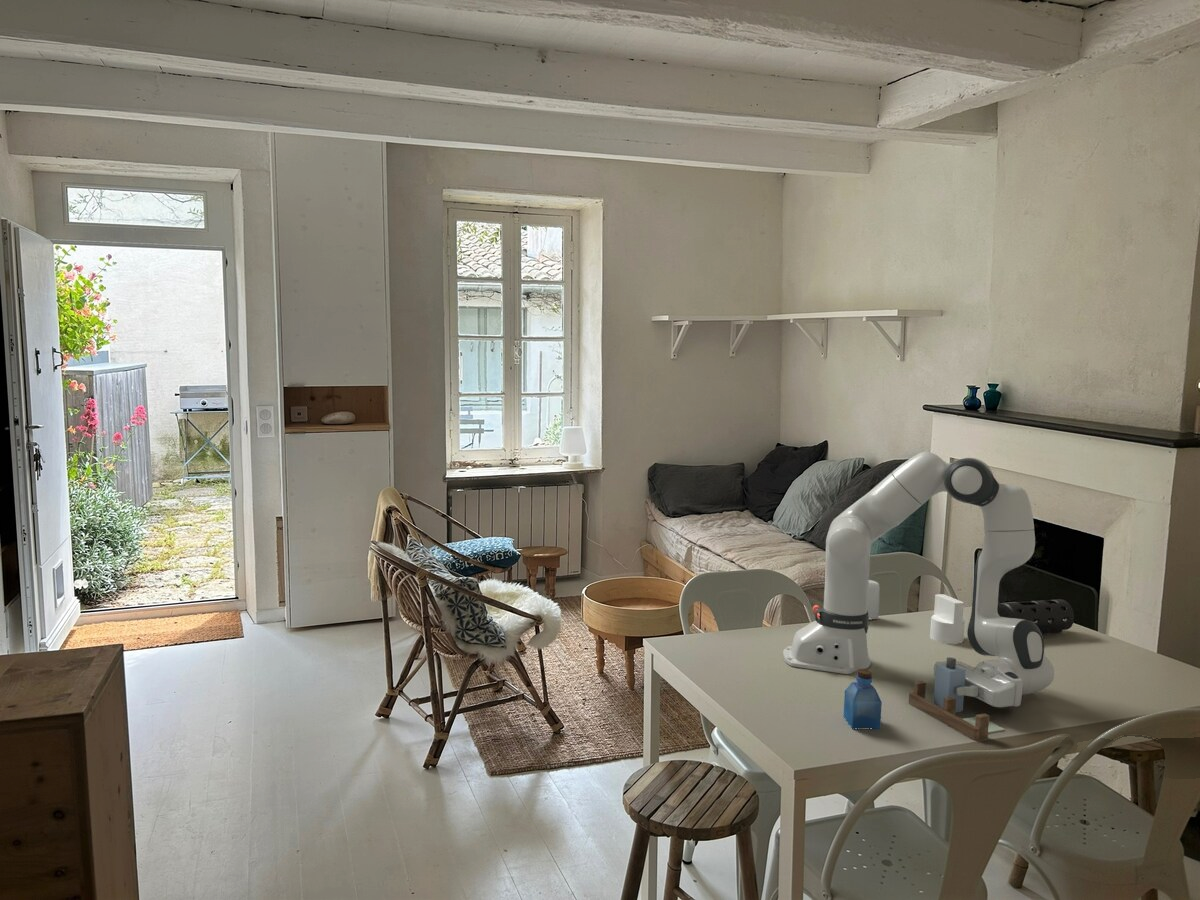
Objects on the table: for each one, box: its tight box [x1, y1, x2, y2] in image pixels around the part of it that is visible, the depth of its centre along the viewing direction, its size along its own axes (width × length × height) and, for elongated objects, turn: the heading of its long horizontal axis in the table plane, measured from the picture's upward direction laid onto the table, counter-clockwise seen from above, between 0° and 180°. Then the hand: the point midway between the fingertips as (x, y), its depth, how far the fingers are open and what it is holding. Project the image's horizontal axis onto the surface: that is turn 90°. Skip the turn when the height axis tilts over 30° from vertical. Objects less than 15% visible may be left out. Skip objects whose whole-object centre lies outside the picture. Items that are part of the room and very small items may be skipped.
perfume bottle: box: [842, 668, 883, 730], centre depth 196 cm, size 6×6×12 cm
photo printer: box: [867, 579, 881, 621], centre depth 271 cm, size 10×4×12 cm, turn 96°
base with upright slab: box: [929, 593, 965, 645], centre depth 254 cm, size 9×9×12 cm
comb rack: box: [908, 680, 1005, 741], centre depth 200 cm, size 10×21×5 cm, turn 21°
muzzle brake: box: [997, 598, 1075, 635], centre depth 260 cm, size 10×28×10 cm, turn 104°
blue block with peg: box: [932, 657, 966, 714], centre depth 204 cm, size 4×4×12 cm
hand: (946, 686), depth 204 cm, fingers open, 5 cm apart
